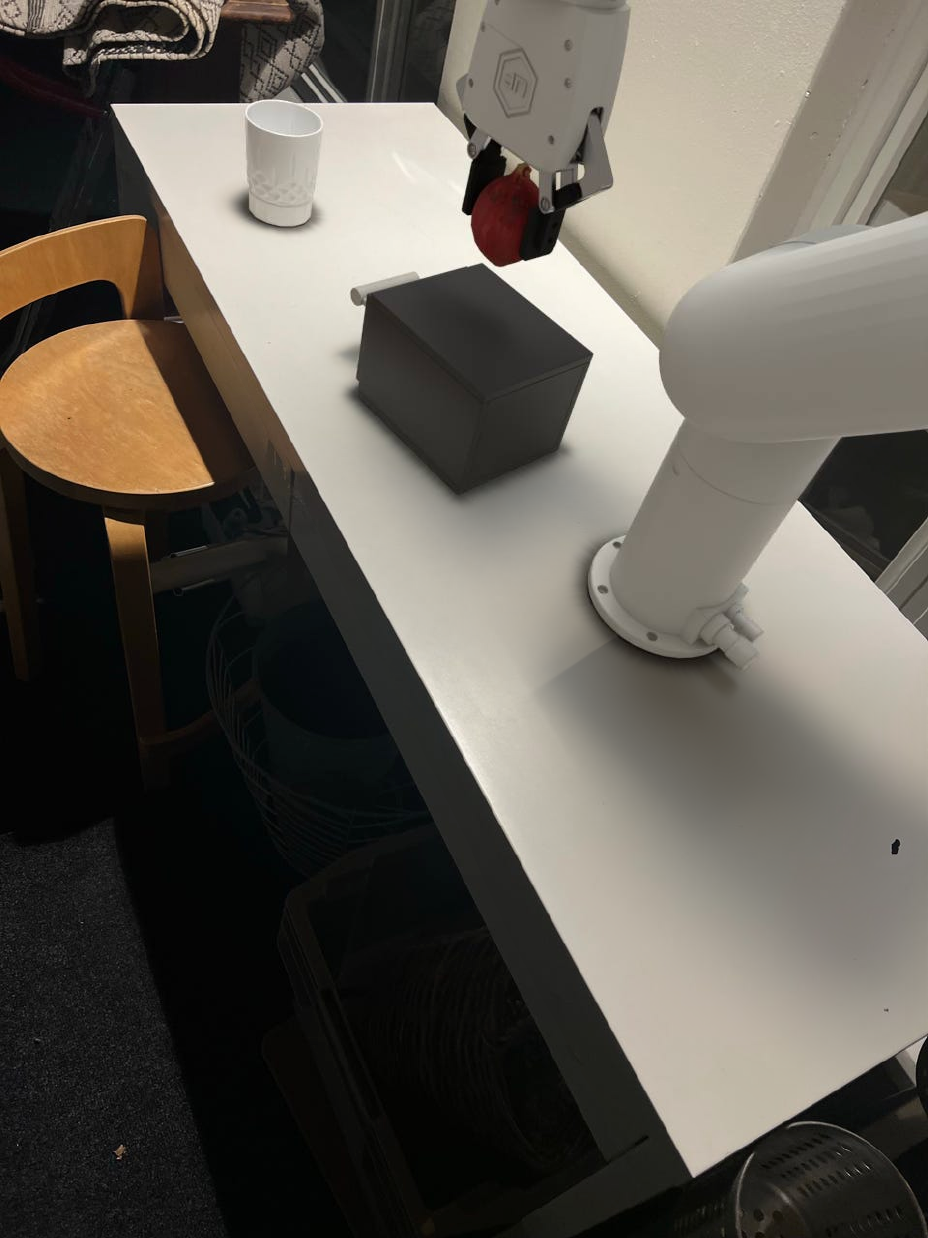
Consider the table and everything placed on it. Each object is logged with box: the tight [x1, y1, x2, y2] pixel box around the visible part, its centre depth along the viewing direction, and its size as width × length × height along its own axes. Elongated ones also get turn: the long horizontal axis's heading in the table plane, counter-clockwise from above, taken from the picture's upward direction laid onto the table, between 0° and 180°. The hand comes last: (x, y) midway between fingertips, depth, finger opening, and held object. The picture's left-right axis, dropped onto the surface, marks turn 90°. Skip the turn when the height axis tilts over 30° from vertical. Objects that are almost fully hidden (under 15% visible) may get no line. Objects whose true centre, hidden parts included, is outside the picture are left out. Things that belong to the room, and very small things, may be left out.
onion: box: [470, 162, 539, 268], centre depth 68 cm, size 6×6×8 cm
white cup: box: [244, 99, 324, 227], centre depth 96 cm, size 8×8×10 cm
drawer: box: [349, 265, 468, 382], centre depth 81 cm, size 18×11×9 cm, turn 41°
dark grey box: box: [356, 262, 594, 495], centre depth 79 cm, size 15×13×11 cm
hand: (506, 230), depth 69 cm, fingers closed on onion, 5 cm apart
